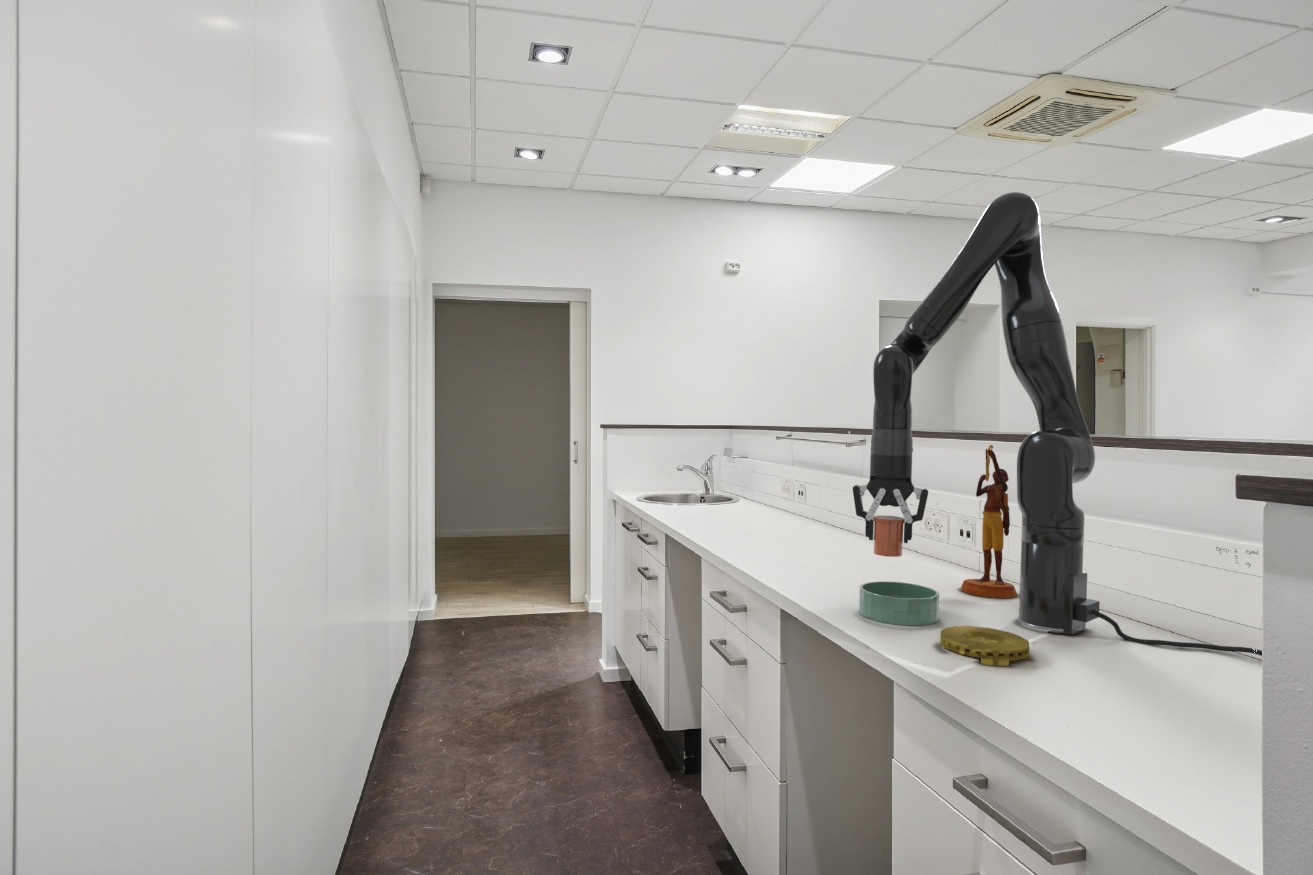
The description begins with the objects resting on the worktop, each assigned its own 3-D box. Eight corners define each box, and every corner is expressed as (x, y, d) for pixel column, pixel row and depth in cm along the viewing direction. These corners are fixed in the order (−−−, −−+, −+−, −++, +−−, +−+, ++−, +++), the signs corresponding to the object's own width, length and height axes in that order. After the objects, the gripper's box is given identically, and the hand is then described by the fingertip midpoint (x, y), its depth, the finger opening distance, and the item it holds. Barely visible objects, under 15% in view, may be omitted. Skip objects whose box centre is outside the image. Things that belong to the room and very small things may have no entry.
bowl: (952, 620, 123) (953, 592, 123) (911, 633, 115) (912, 603, 115) (886, 604, 133) (886, 578, 133) (843, 615, 125) (844, 587, 125)
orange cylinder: (909, 555, 136) (910, 518, 136) (892, 558, 132) (893, 520, 132) (883, 550, 140) (884, 514, 140) (866, 553, 137) (867, 516, 136)
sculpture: (951, 588, 148) (955, 443, 148) (991, 585, 151) (995, 444, 151) (986, 599, 139) (991, 445, 138) (1028, 597, 142) (1033, 446, 141)
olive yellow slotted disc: (998, 671, 98) (999, 655, 98) (923, 647, 108) (923, 632, 108) (1045, 656, 105) (1045, 642, 105) (970, 635, 115) (970, 622, 115)
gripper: (850, 451, 135) (847, 541, 135) (931, 454, 130) (928, 547, 130) (854, 450, 142) (851, 535, 142) (931, 453, 137) (928, 541, 137)
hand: (888, 540), depth 136 cm, fingers closed on orange cylinder, 5 cm apart
